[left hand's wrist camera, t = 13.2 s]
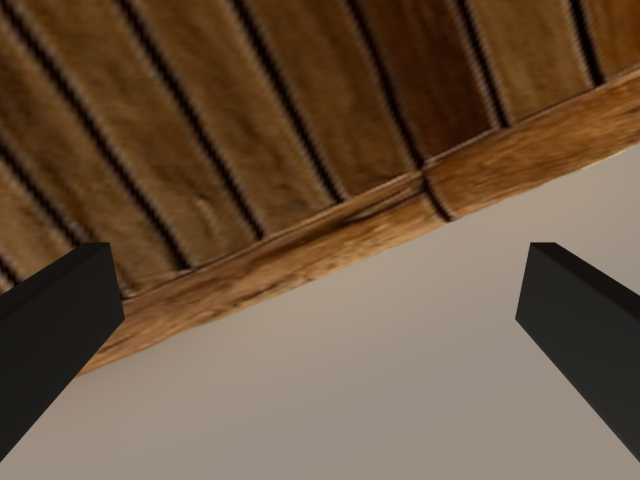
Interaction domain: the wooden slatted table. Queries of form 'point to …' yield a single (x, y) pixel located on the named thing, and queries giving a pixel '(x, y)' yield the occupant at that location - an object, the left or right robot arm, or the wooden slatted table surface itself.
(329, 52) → the wooden slatted table surface
